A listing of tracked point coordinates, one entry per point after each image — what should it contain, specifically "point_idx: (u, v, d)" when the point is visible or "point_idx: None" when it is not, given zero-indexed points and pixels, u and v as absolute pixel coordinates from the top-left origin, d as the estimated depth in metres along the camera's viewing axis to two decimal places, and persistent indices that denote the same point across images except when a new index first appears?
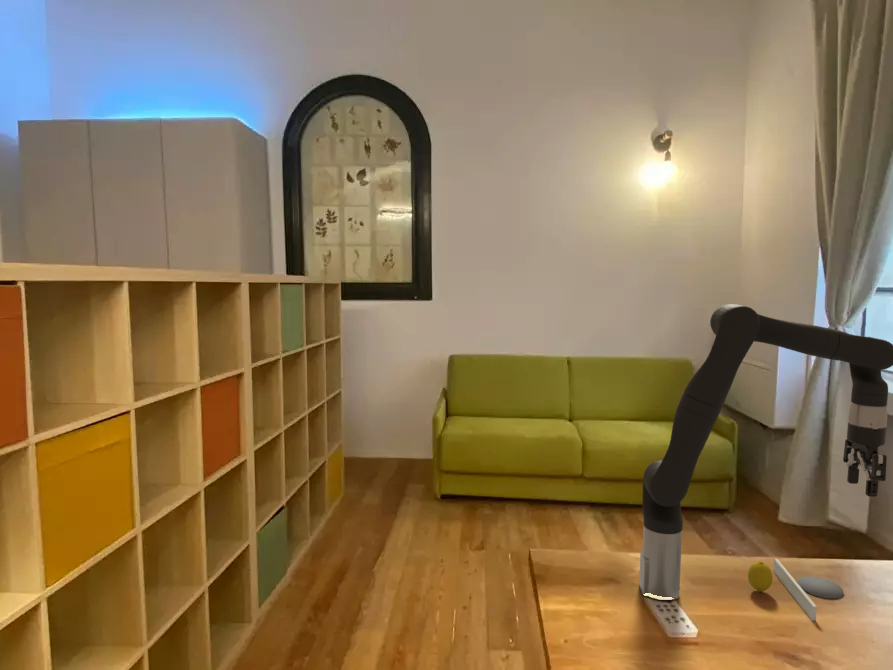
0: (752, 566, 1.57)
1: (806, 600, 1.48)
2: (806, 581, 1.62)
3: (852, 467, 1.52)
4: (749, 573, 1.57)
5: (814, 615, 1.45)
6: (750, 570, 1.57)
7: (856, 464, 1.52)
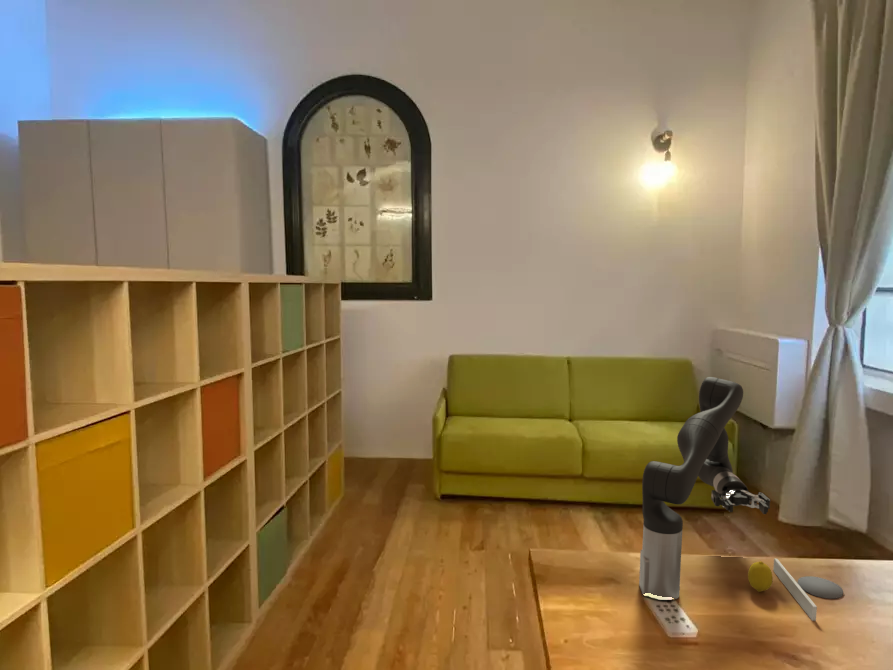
0: (752, 566, 1.57)
1: (806, 600, 1.48)
2: (806, 581, 1.62)
3: None
4: (749, 573, 1.57)
5: (814, 615, 1.45)
6: (750, 570, 1.57)
7: None
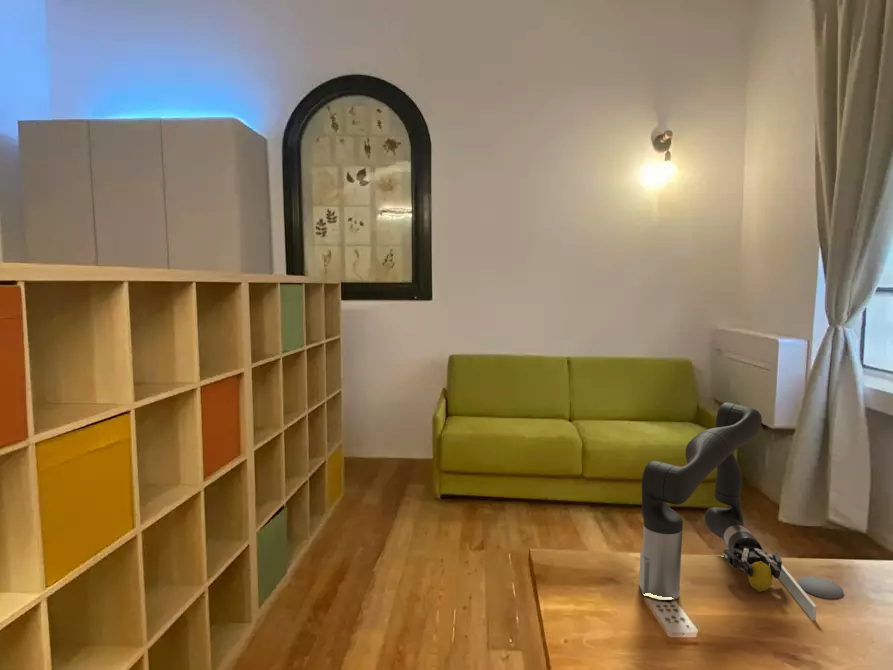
0: (752, 566, 1.57)
1: (806, 600, 1.48)
2: (806, 581, 1.62)
3: None
4: None
5: (814, 615, 1.45)
6: None
7: None
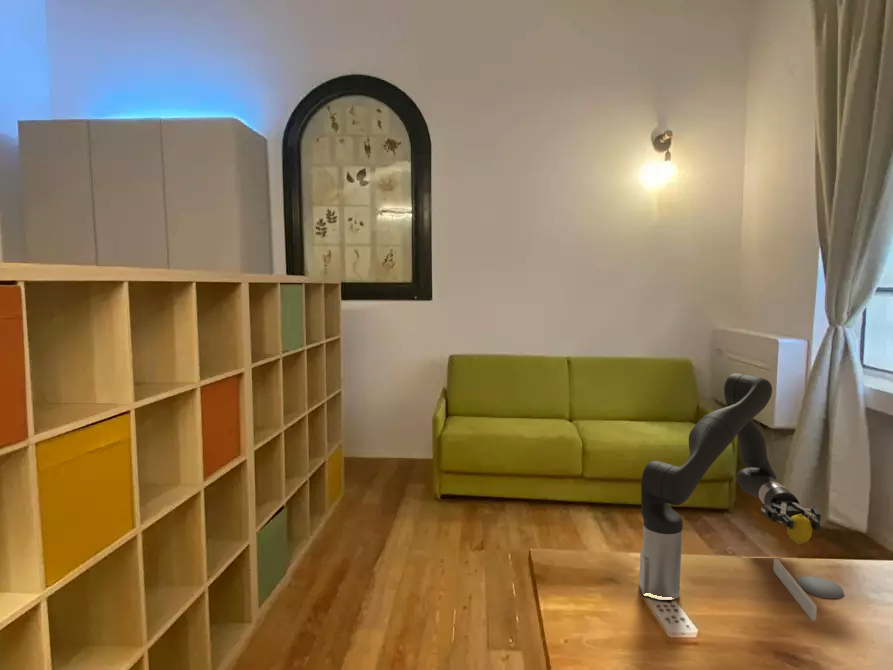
0: None
1: (806, 600, 1.48)
2: (806, 581, 1.62)
3: None
4: None
5: (814, 615, 1.45)
6: None
7: None
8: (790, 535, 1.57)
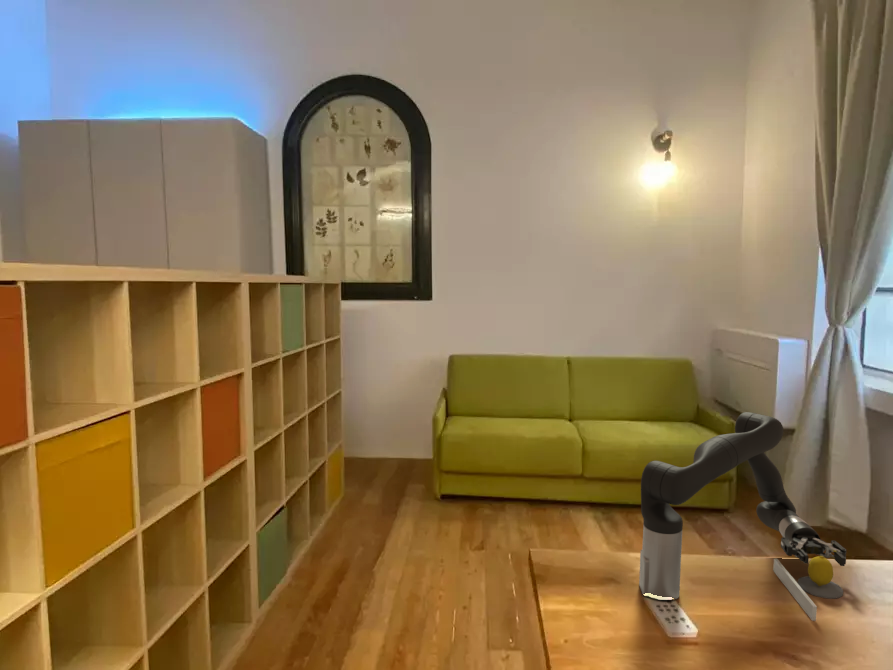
0: (812, 560, 1.59)
1: (806, 600, 1.48)
2: (806, 581, 1.62)
3: None
4: (809, 567, 1.59)
5: (814, 615, 1.45)
6: (810, 564, 1.59)
7: None
8: (811, 577, 1.59)
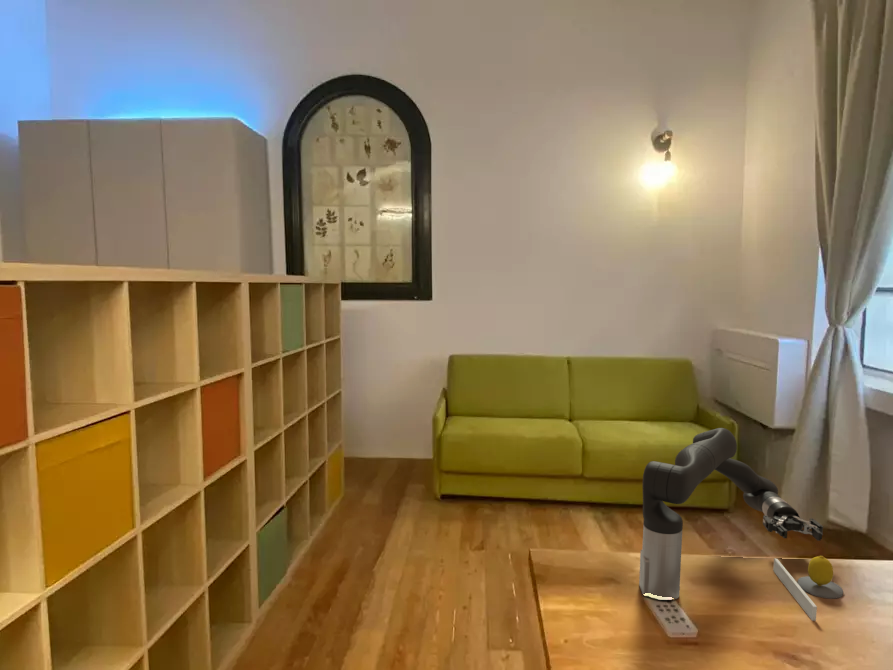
0: (812, 560, 1.59)
1: (806, 600, 1.48)
2: (806, 581, 1.62)
3: None
4: (809, 567, 1.59)
5: (814, 615, 1.45)
6: (810, 564, 1.59)
7: None
8: (811, 577, 1.59)
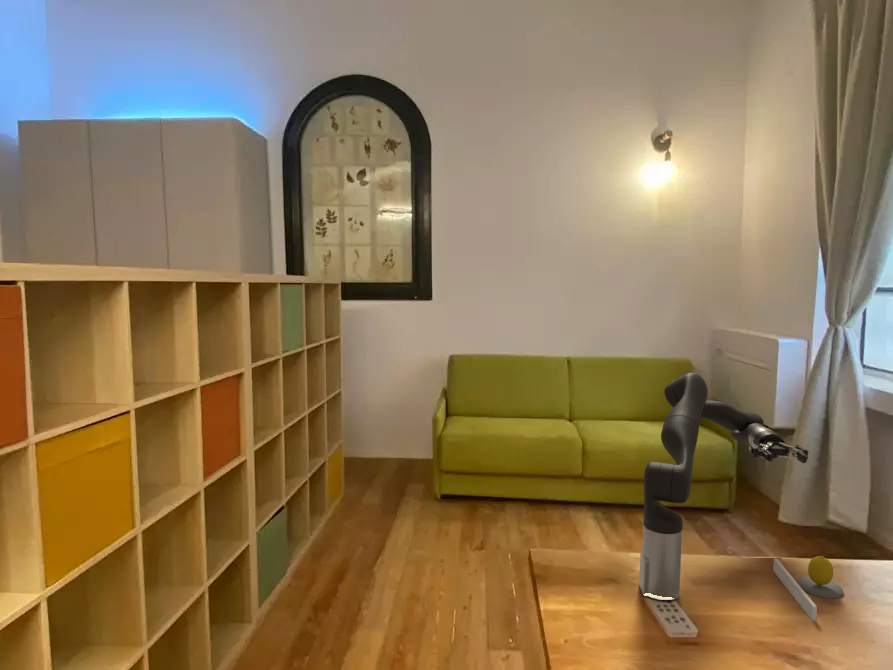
0: (813, 560, 1.59)
1: (806, 600, 1.48)
2: (806, 581, 1.62)
3: None
4: (809, 567, 1.59)
5: (814, 615, 1.45)
6: (811, 564, 1.59)
7: None
8: (811, 577, 1.59)
